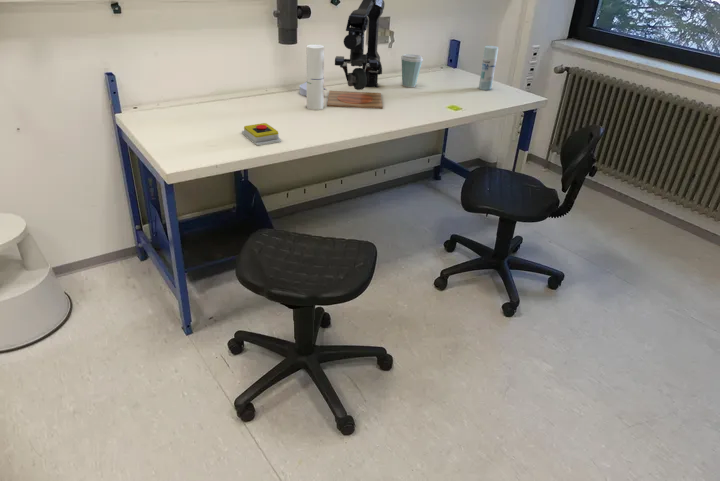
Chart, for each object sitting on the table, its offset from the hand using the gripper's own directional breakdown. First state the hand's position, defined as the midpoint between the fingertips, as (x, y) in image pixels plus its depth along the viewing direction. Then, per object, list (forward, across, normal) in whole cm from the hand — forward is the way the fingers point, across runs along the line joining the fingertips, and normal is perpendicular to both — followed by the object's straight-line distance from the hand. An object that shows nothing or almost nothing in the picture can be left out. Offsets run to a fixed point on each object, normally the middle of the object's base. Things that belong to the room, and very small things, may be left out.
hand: (355, 81), depth 237 cm
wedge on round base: (+8, -20, +6) cm, 23 cm away
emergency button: (+8, -34, -52) cm, 63 cm away
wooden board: (+8, 0, 0) cm, 8 cm away
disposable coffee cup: (+9, +27, +29) cm, 40 cm away
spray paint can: (+9, +65, +30) cm, 72 cm away
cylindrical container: (+8, -17, -13) cm, 23 cm away
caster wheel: (+3, 0, 0) cm, 3 cm away
